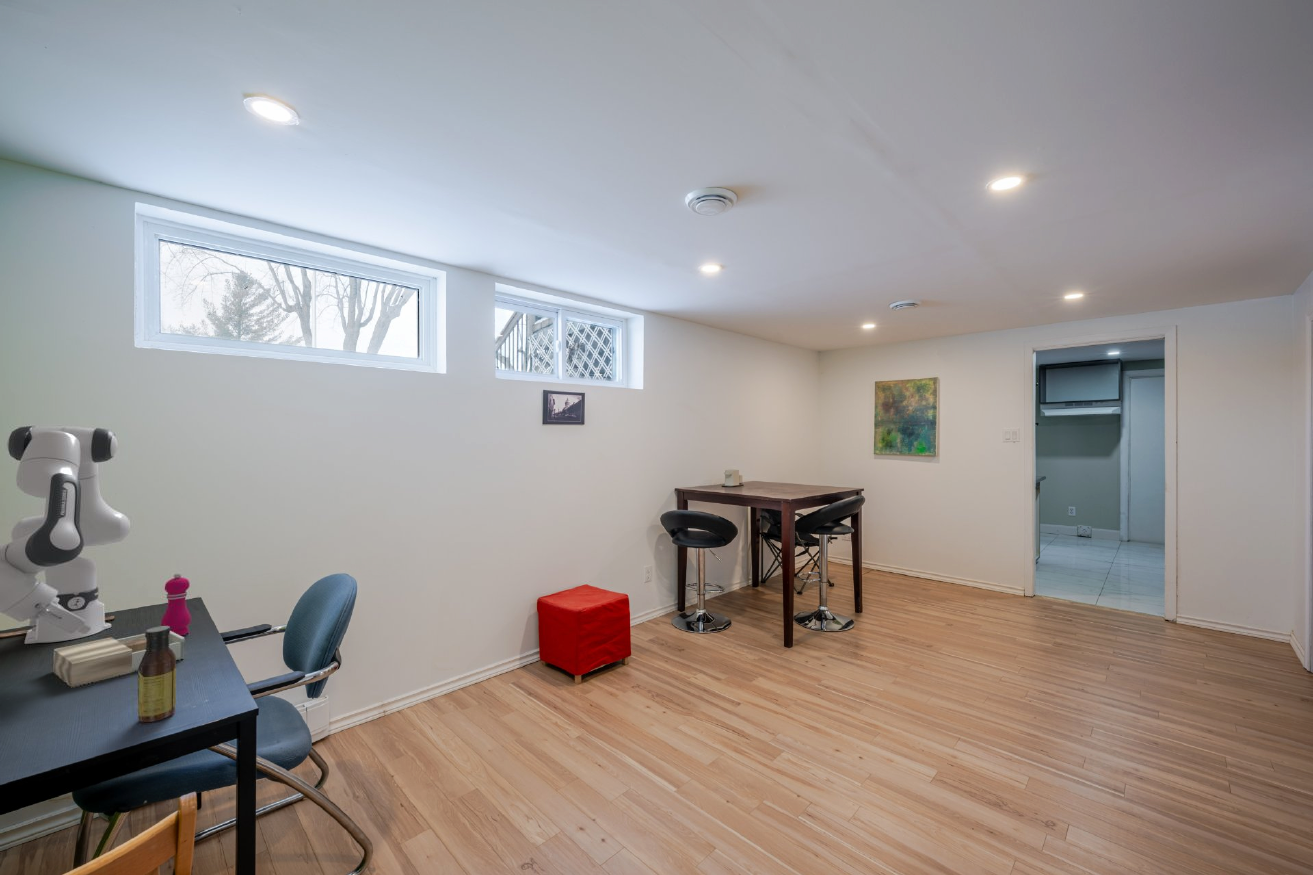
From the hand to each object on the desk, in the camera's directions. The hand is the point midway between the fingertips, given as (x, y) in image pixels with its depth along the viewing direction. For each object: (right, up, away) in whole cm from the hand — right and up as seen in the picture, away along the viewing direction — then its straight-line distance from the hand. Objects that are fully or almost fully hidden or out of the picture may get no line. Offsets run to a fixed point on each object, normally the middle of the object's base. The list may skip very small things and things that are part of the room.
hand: (86, 630), depth 141 cm
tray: (+6, -12, +10) cm, 17 cm away
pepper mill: (-3, -12, +29) cm, 32 cm away
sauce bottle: (+40, -11, -23) cm, 47 cm away
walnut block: (+4, -9, +6) cm, 11 cm away
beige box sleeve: (0, -11, +1) cm, 12 cm away
